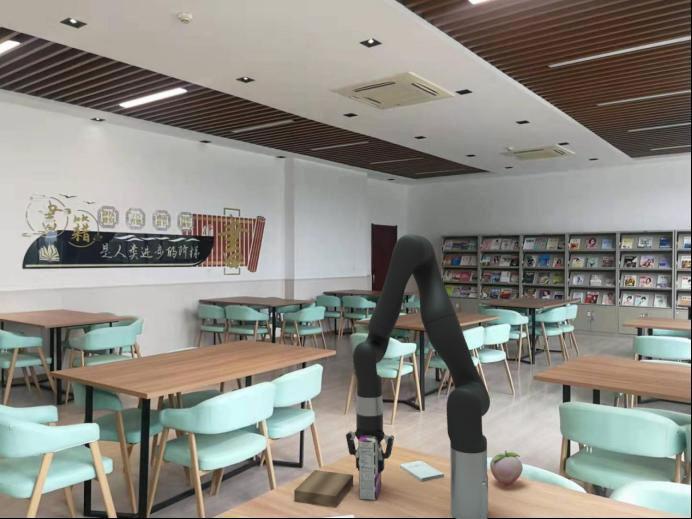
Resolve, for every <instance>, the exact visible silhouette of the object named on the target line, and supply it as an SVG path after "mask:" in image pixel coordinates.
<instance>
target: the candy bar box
mask: <svg viewBox="0 0 692 519" xmlns="http://www.w3.org/2000/svg"><path fill="white" fill-rule="evenodd" d="M357 441H358V440H357ZM357 443H358V446H359V471H358V481H359V483H358V484H359V485H358V488H359V489H358V492H359V494H358V496H359V500H365V501H377V498H378V494H379V492H380V488H381V487H382V472H381V473H378V460H379V459H378V452H377V446H378V447H379V445H378V439H377V436H370V435H361V437H360V439H359V441H358V442H357Z"/></svg>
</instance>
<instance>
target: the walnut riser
mask: <svg viewBox="0 0 692 519" xmlns="http://www.w3.org/2000/svg"><path fill="white" fill-rule="evenodd" d="M353 486H354V474H350V473H349V474H348V473H342V472H335V471H326V470H320V469H319V470H317V469H314V470H313V472H311V473H310V475H308V476H307V477H306V478H305V479H304V480H303V481H302V482H301V483H300V484H299V485H298V486H297V487H296V488H295V489H294V490H293V492H294V494H293V496H294V497H293V498H294V502H297V503H304V504H309V505H316V506H323V507H329V508H331V507H332V508H337V507H338V505H339V504H340V503H341V501H342V500H343V499H344V498H345V496H346V495H347V494H348V493H349V491H350V490H351V489H352V487H353ZM350 488H351V489H350ZM349 489H350V490H349ZM346 493H347V494H346ZM343 497H344V498H343ZM342 498H343V499H342ZM339 502H340V503H339Z"/></svg>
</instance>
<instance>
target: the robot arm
mask: <svg viewBox="0 0 692 519" xmlns="http://www.w3.org/2000/svg"><path fill="white" fill-rule="evenodd" d="M390 258H391V259H390V262H389V266H388V269H387V273H386V277H385V280H384V283H383V287H382V290H381V293H380V294H379V298H378V299H377V303H376V305H375V308H374V309H373V312H372V314H371V316H370V319H369V322H368V325H367V329H368V334H367V337H366V339H365V340H364V341H362V342H360V343H358V344H357V345H356V346H355V348H354V349H353V353H352V354H353V355H352V362H353V368H354V373H355V377H356V380H357V381H356V406H355V411H356V412H355V413H356V421H355V422H356V428H355V429H356V430H355V431H351V430H350V431H348V432H347V433H346V434H345V439H346V444H347V448H348V453H349V455H350V456H352V455H353V456H354V457H355V468H356V469H357V471H358V472H359V445H358V446H357V449H356V444H355V439H357V441H359V439H360V437H361V435H370V436H377V439H378V445H379V447H378V446H377V452H378V459H379V460H378V473H381V474H382V472H383V471H384V470H385V459H386V460H388V459H389V458H390V457H391V455H392V451H393V445H394V441H395V436H394V435H387V434H385V431H384V403H383V393H382V392H383V390H382V389H383V387H382V386H383V385H382V384H383V381H382V378H381V375H379V374H378V370H377V369H378V368H377V364H378V363H380V362H381V361H382V360H383V359H384V357H385V355H386V353H387V350H388V347H389V343H390V338H391V335H392V332H393V331H394V328H395V326H396V324H397V322H398V319H399V318H400V315H401V312H402V307H403V301H404V295H405V292H406V288H407V285H408V283H409V281H410V278H411V277H412V276H413V278H414V281H415V284H416V285H417V290H418V297H419V310H420V319H421V323H422V325H423V329H424V330H425V334H426V336H427V339H428V341H429V343H430V345H431V346H432V348H433V349H434V351H435V352H436V354H437V355H438V356H439V358H440V359H441V360H442V362H443V363H444V364H445V366H446V367H447V369H448V371H449V373H450V376H451V379H452V383H453V387H454V389H453V390H452V391H451V392H450V393H449V394H448V396H447V400H446V425H447V426H446V429H447V436H448V439H449V441H450V444H449V445H450V448H449V449H450V452H449V454H450V459H449V460H450V461H449V462H450V514H451V516H452V517H453V518H455V519H488V515H489V476H488V440H487V437H486V436H485V435H484V433H483V417H484V416H485V415H486V414H487V413H488V412H489V410H490V407H491V406H490V405H491V398H490V394H489V392H488V390H487V387H486V385H485V384H484V382H483V378H482V376H480V373H479V371H478V369H477V366H476V365H475V362H474V360H473V357H472V354H471V351H470V349H469V347H468V343H467V341H466V338H465V336H464V332H463V329H462V326H461V323H460V321H459V318H458V315H457V313H456V311H455V308H454V306H453V303H452V300H451V298H450V295H449V292H448V290H447V288H446V286H445V284H444V281H443V278H442V275H441V272H440V269H439V264H438V260H437V257H436V252H435V248H434V245H433V244H432V242H431V241H430V240H429V239H428V238H426V237H424V236H422V235H418V234H412V233H411V234H410V233H409V234H404V235H402V236H400V237H399V239H397V241H396V242H395V244H394V247H393V250H392V254H391V257H390ZM383 440H384V442H385V444H386V448H385V452H384V450H383V444H382V441H383Z"/></svg>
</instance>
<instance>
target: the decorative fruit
mask: <svg viewBox="0 0 692 519" xmlns="http://www.w3.org/2000/svg"><path fill="white" fill-rule="evenodd" d="M518 457H519V458H521V455H519V454H518V453H516V452H513V451H512V452H511V451H510V452H507V450H505V451H504V452H502V453H497V454H495V455H494V456H493V457H492V458H491V459H490V463H489V468H490V472H491V474H492V476H493V478H494V479H495V480H496V481H497V482H498V483H500V484H503V485H504V486H508V485H511V484H513V483H514V482H517V480H518V479H519V478H520V476H521V475H522V473H523V466H524V465H523V463H522V461H521V460H520V459H519V458H518Z"/></svg>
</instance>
